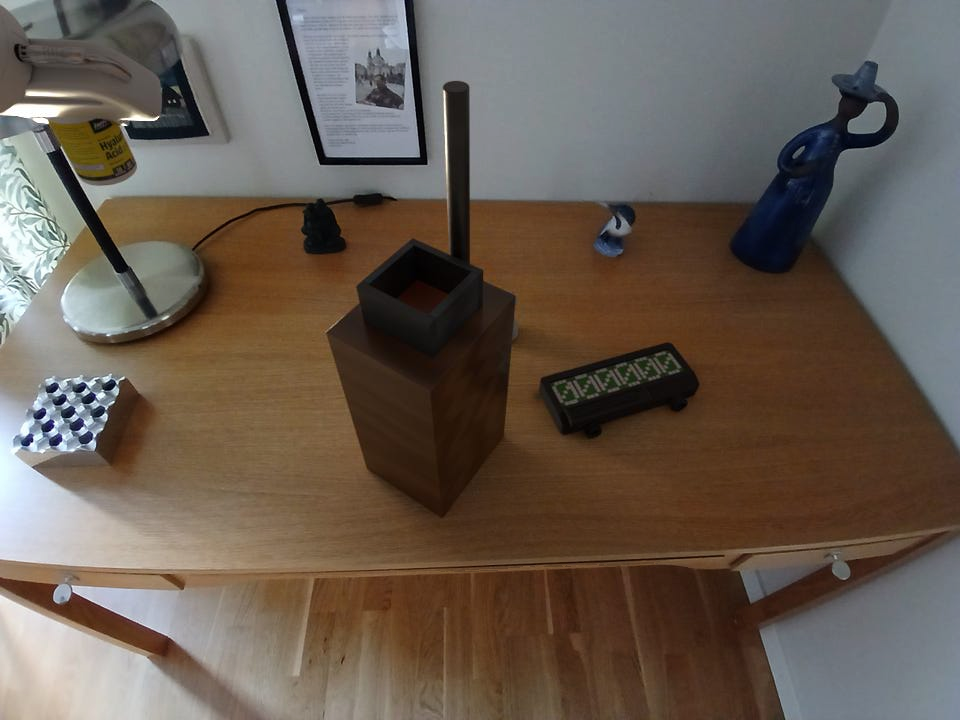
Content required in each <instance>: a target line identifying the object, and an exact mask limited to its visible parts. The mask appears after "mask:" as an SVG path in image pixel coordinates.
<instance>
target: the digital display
mask: <svg viewBox="0 0 960 720" xmlns="http://www.w3.org/2000/svg"><path fill="white" fill-rule="evenodd" d="M699 387H700V381H699V378H698V376H697V375H696V373H695V371H694V370H693V369H692V367H691V366H690V364H688V362H687V361H686V360H685V358H684V357H683V355H682V354H681V353H680V352H679V350H678V349H677V348H676V346H674V344H673V343H672V342H668V341H666V342H662V343H659V344H655V345H652V346H649V347H644V348H642V349H641V348H640V349H638V350H634V351H631V352H627V353H623V354H620V355H617V356H616V355H615V356H612V357H609V358H605V359H602V360H599V361H595V362H592V363H588V364H584V365H581V366H577V367H573V368H570V369H566V370H563V371H559V372H555V373H553V374H548V375H545V376H542V377H541V378H540V380H539V387H538V393H539V396H540V397H541V400H542V401H543V404H544V405H545V407H546V408H547V410H548V412H549V415H550V417H551V418H552V420H553V422H554V424H555V425H556V428H557V430H558V431H559V433H560V434H562V435H563V436H564V435H569V434H573V433H576V432H579V431H584V433H585V435H586V437H587V438H589V439H595V438H597V437H599V436H600V435H601V434H602V432H603V428H602V427H601V425H602V424H605V423H608V422H613V421H615V420H619V419H622V418H625V417H628V416H631V415H634V414H637V413H641V412H644V411H648V410H651V409H654V408H657V407H661V406H665V405H668V404H669V406H670V407H671V409H672V410H673V411H675V412H680V411H682V410H684V409H686V407H687V406H688V404H689V403H688V400H687V399H688V398H690V397H693V396H695V395H696V393H697V391H698V389H699ZM686 398H687V399H686Z"/></svg>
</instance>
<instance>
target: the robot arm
mask: <svg viewBox="0 0 960 720" xmlns="http://www.w3.org/2000/svg"><path fill="white" fill-rule="evenodd" d="M162 106H163V95H162V85H161V81H160V78H159V77H158V76H157V75H156V74H155V73H154V72H153V71H151V70H149V69H148V68H147V67H145V66H143V65H142V64H140V63H139V62H137V61H135V60H134V59H131V58H130V57H129V56H127V55H125V54H123V53H122V52H119V51H117V50H115V49H114V48H111V47H109V46H107V45H104V44H101V43H97V42H93V41H88V40H82V39H81V40H80V39H63V38H62V39H61V38H39V37H37V38H35V37H32V38H31V37H28V36H27V33H26V31H25V30H24V28H23V27H22V25H21V23H20V22H19V20H18V19H17V18H16V17H15V15H13V14H12V12H10V11H9V10H8V8H6V7H4V6H3V5H2V4H0V116H15V117H16V116H17V117H21V118H27V119H29V120H32V121H34V122H36V123H39V124H49V123H48V121H47V120H46V118H45V117H69V118H97V119H102V120H103V121H105V122H107V123H110V124H111V125H119V126H123V127H124V126H126V127H128V126H130V121H156V120H158V118H160V116H161V114H162V108H163V107H162Z"/></svg>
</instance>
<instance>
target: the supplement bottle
mask: <svg viewBox="0 0 960 720" xmlns="http://www.w3.org/2000/svg"><path fill="white" fill-rule="evenodd" d="M45 118H46V120H47V121H48V123H47V124H48V125H49V127H50V128H51V130H52V132H53V134H54V136H55V138H56V139H57V141H58V143H59V144H60V146H61V148H62V150H63V152H64V154H65V155H66V157H67V159H68V161H69V162H70V165H71V166H72V168H73V169H74V171H75V173H76V175H77V176H78V179H80V180H81V181H82V182H83V183H85V184H87V185H89V186H95V187H105V186H113V185H116V184H119V183H123V182H125V181H127V180H129V179H130V178H131V177H132V176H133V175H134V174H135V173H136V171H137V170H138V164H137V162H136V159H135V157H134V154H133V152H132V150H131V148H130V146H129V143H128V141H127V139H126V137H125V134H124V132H123V130H122V128H121V125H111V124H110V123H107V122H105V121H103V120H102V119H97V118H69V117H45Z"/></svg>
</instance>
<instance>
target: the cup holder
mask: <svg viewBox="0 0 960 720" xmlns="http://www.w3.org/2000/svg"><path fill="white" fill-rule="evenodd" d="M470 90H471V87H470V85H469V83H467V82H465V81H462V80H450V81H447V82H445V83H444V84H443V85H442V103H443V105H442V107H443V129H444V131H443V132H444V156H445V158H444V159H445V179H446V180H445V183H446V207H447V232H448V233H447V234H448V253H447V252H446V251H445V252H444V251H442V250H440V249H438V248H437V247H434V246H431V245H429V244H427V243H425V242H423V241H420V240H418V239H416V238H414V237H413V238H411V239H410V240H408V242H406V243H405V244H403V245H402V246H401V247H399V249H397V250H396V251H395V252H394V253H393V254H391V255H390V256H389V257H388V258H386V259H385V260H384V261H383V262H382V263H381V264H380V265H379V266H377V267H376V268H375V269H374V270H373V271H372V272H370V273H369V274H368V275H367V276H366V277H364V278H363V279H362V280H361V281H360V282H359V283H358V284H357V285H355V289H356V293H357V299H358V303H357V304H356V305H355V306H354V307H353V308H351V310H349V311H348V312H347V313H346V314H344V315H343V316H342V317H341V318H340V319H339V320H338V321H336V322H335V324H333V325H332V326H331V327H330V328H329V329H327V331H325V334H326V337H327V340H328V344H329V347H330V350H331V354H332V357H333V361H334V365H335V367H336V371H337V374H338V377H339V380H340V381H339V382H340V383H341V388H342V390H343V393H344V397H345V401H346V403H347V408H348V410H349V415H350V418H351V421H352V424H353V427H354V430H355V431H354V432H355V434H356V437H357V439H358V441H357V442H358V445H359V447H360V452H361V454H362V457H363V461H364V464H365V467H366V469H367V470H368V471H370V472H371V473H372V474H373V475H376V477H379V478H380V479H382V480H383V481H385V482H386V483H388V484H389V485H391V486H392V487H394V488H396V489H397V490H398V491H400V492H401V493H404V494H405V495H406V496H408V497H409V498H411V499H412V500H414V501H415V502H417V503H419V504H420V505H422V507H425V508H426V509H427V510H429V511H431V513H434V514H435V515H437V516H438V517H440V518H441V519H443V518H444V517H445V516H446V514H447V513H448V512H449V511H450V510H451V508H452V506H453V505H454V504H455V503H456V501H457V500H458V498H459V497H460V495H461V494H462V493H463V492H464V491H465V489H466V488H467V486H468V485H469V484H470V482H471V481H472V479H473V478H474V477H475V475H476V474H477V473H478V472H479V470H480V469H481V467H482V466H483V465H484V463H485V462H486V461H487V459H488V458H489V457H490V456H491V454H492V453H493V452H494V450H495V449H496V447H497V446H498V445H499V443H500V442H501V441H502V439H503V438H504V436H505V427H506V415H507V407H508V394H509V393H508V392H509V381H510V368H511V360H512V359H511V358H512V346H513V340H512V336H513V324H514V319H515V312H516V306H515V301H516V298H517V295H516V294H514V293H513V294H511V293H510V291H508V290H507V291H505V290H506V289H502V288H500V287H498V286H496V285H494V284H492V283H490V282H487V281H485V280H484V269H483V268H481V267H478V266H476V265H473V264H472V263H471V168H470V167H471V159H470V158H471V154H470V153H471V150H470V149H471V142H470V141H471V140H470V139H471V137H470V135H471V134H470V133H471V126H470V125H471V124H470V123H471V122H470V121H471V119H470V118H471V117H470V113H471V111H470V110H471V109H470V108H471V107H470V106H471V104H470V99H471V98H470V96H471V95H470V94H471V93H470Z"/></svg>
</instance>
